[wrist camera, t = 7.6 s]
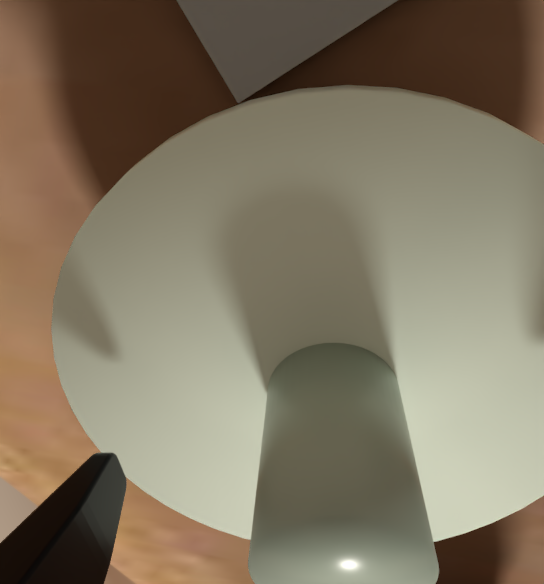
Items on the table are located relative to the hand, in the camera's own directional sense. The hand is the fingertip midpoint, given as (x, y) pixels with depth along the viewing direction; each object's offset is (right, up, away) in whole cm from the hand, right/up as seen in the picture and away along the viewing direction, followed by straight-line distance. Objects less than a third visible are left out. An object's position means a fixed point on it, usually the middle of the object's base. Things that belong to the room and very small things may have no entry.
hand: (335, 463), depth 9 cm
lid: (0, +1, +2) cm, 3 cm away
